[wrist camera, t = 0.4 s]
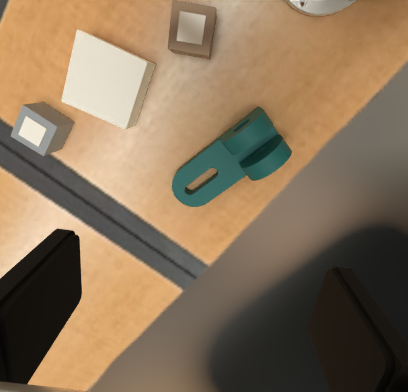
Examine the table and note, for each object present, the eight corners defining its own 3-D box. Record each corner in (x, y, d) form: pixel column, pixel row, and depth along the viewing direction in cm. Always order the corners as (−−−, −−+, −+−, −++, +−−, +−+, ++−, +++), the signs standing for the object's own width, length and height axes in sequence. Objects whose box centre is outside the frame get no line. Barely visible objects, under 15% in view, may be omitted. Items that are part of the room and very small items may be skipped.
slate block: (44, 102, 42) (21, 104, 37) (74, 121, 43) (56, 127, 38) (32, 130, 44) (8, 136, 39) (62, 148, 44) (42, 156, 39)
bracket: (258, 106, 41) (266, 111, 33) (283, 143, 42) (297, 155, 35) (165, 178, 45) (155, 196, 38) (192, 208, 47) (187, 231, 40)
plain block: (94, 35, 38) (77, 29, 34) (156, 64, 39) (147, 62, 35) (78, 99, 42) (61, 101, 37) (136, 124, 42) (125, 129, 38)
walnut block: (178, 10, 36) (172, -1, 32) (216, 17, 37) (216, 7, 32) (173, 52, 38) (167, 48, 33) (209, 59, 38) (208, 55, 34)
